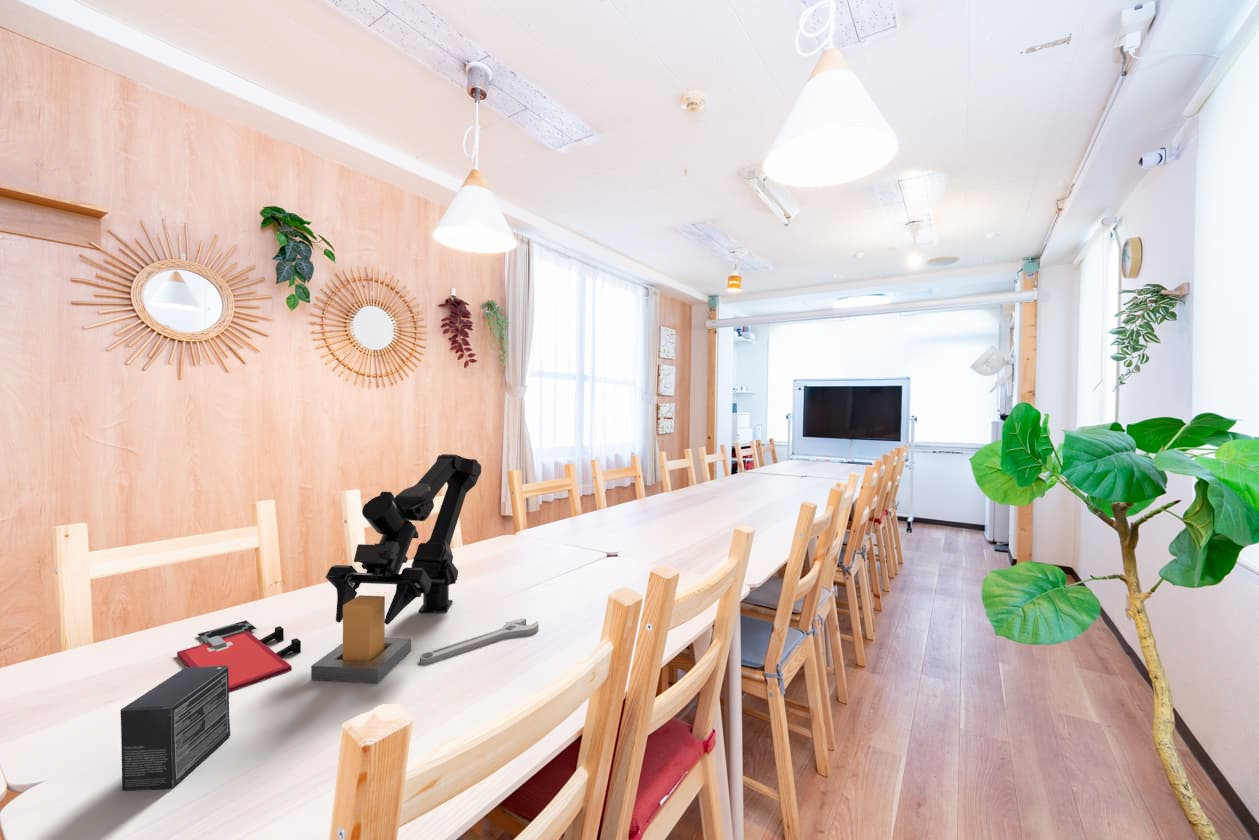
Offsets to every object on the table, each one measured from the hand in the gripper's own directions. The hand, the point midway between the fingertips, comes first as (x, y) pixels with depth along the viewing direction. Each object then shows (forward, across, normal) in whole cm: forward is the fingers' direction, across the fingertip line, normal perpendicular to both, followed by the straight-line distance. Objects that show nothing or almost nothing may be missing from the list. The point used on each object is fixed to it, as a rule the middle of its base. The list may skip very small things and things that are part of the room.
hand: (361, 622), depth 94 cm
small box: (+24, -9, -13) cm, 29 cm away
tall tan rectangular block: (+5, 0, +6) cm, 8 cm away
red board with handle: (+4, -26, +8) cm, 28 cm away
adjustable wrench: (-2, +18, +15) cm, 24 cm away
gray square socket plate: (+5, 0, +6) cm, 8 cm away
